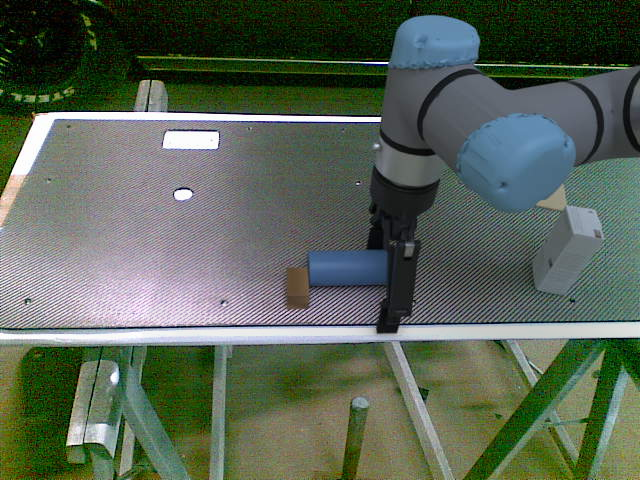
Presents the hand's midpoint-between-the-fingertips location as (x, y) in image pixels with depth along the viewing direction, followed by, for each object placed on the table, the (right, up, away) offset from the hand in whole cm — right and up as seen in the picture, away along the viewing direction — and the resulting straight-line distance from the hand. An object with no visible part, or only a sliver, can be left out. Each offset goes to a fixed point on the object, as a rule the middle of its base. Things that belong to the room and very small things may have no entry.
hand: (379, 293), depth 67 cm
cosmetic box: (+26, +2, +4) cm, 26 cm away
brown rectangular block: (-12, 0, -1) cm, 12 cm away
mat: (+31, +16, +19) cm, 40 cm away
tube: (-4, +2, +1) cm, 5 cm away
